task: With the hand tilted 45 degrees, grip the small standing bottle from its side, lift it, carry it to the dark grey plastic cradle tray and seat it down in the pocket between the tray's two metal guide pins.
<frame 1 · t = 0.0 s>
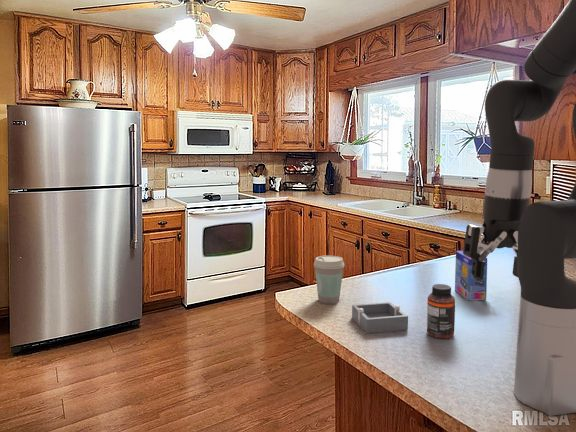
hand: (498, 277, 85), 17 cm above the counter, tool pointing down, fingers open, 8 cm apart
tray: (378, 323, 108), on the counter
ink cartridge box: (469, 295, 129), on the counter
coffee cup: (328, 301, 125), on the counter
supplement bottle: (439, 335, 101), on the counter
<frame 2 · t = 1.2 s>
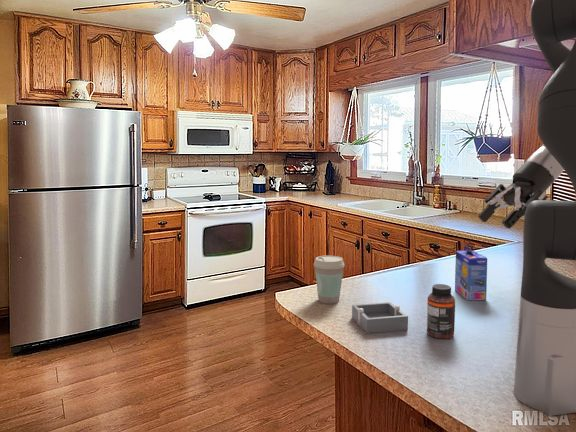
hand: (492, 222, 102), 25 cm above the counter, tool tilted 45°, fingers open, 8 cm apart
nothing on the counter moved.
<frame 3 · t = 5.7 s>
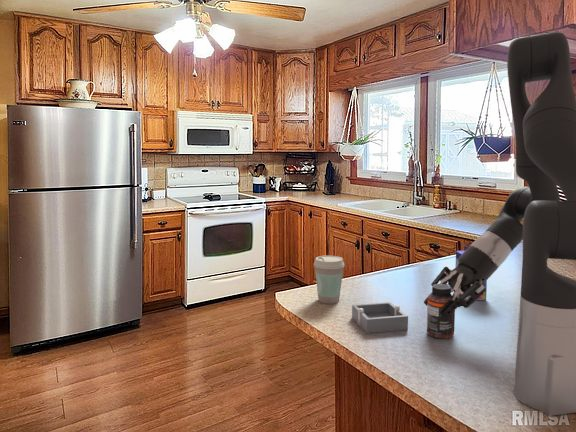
hand: (434, 310, 100), 6 cm above the counter, tool tilted 45°, fingers closed on supplement bottle, 6 cm apart
supplement bottle: (439, 335, 101), on the counter, touching gripper
everything else where it was.
when the fingers open (8 cm above the counter, at t = 10.5 s): supplement bottle drops 1 cm, resting on tray.
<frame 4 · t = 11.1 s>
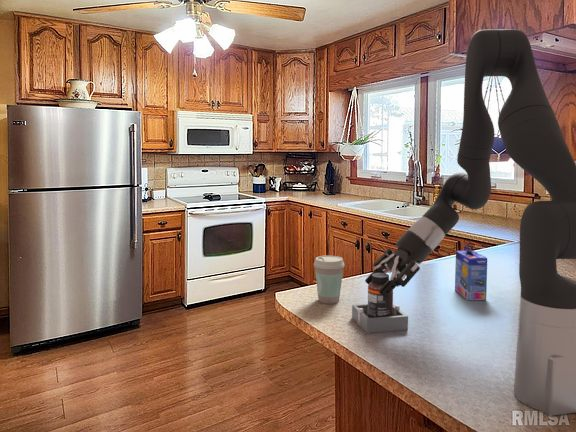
hand: (374, 289, 106), 9 cm above the counter, tool tilted 45°, fingers open, 8 cm apart
supplement bottle: (379, 321, 108), point 1 cm above the counter, touching tray
everything else where it was.
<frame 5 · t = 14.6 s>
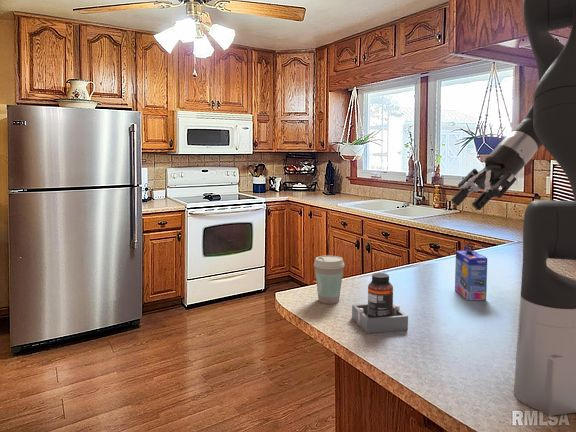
hand: (464, 205, 103), 29 cm above the counter, tool tilted 45°, fingers open, 8 cm apart
nothing on the counter moved.
at the end: supplement bottle 0.2 cm off-centre on the tray, point 0.6 cm above the tray's base; supplement bottle tilted 0°; the gripper is holding nothing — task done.
